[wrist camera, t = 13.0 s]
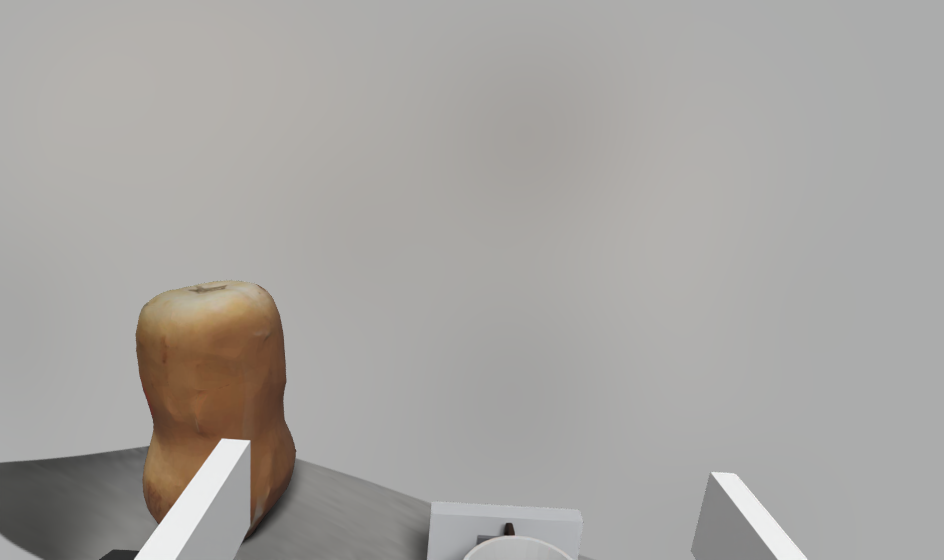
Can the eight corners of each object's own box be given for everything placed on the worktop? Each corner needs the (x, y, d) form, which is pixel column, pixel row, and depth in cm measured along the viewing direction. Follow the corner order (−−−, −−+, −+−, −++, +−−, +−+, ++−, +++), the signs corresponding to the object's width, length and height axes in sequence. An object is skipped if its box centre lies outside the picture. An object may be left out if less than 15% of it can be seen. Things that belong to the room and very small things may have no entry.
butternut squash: (162, 492, 59) (150, 264, 53) (294, 478, 63) (297, 266, 57) (129, 594, 46) (109, 308, 40) (297, 567, 51) (302, 307, 45)
